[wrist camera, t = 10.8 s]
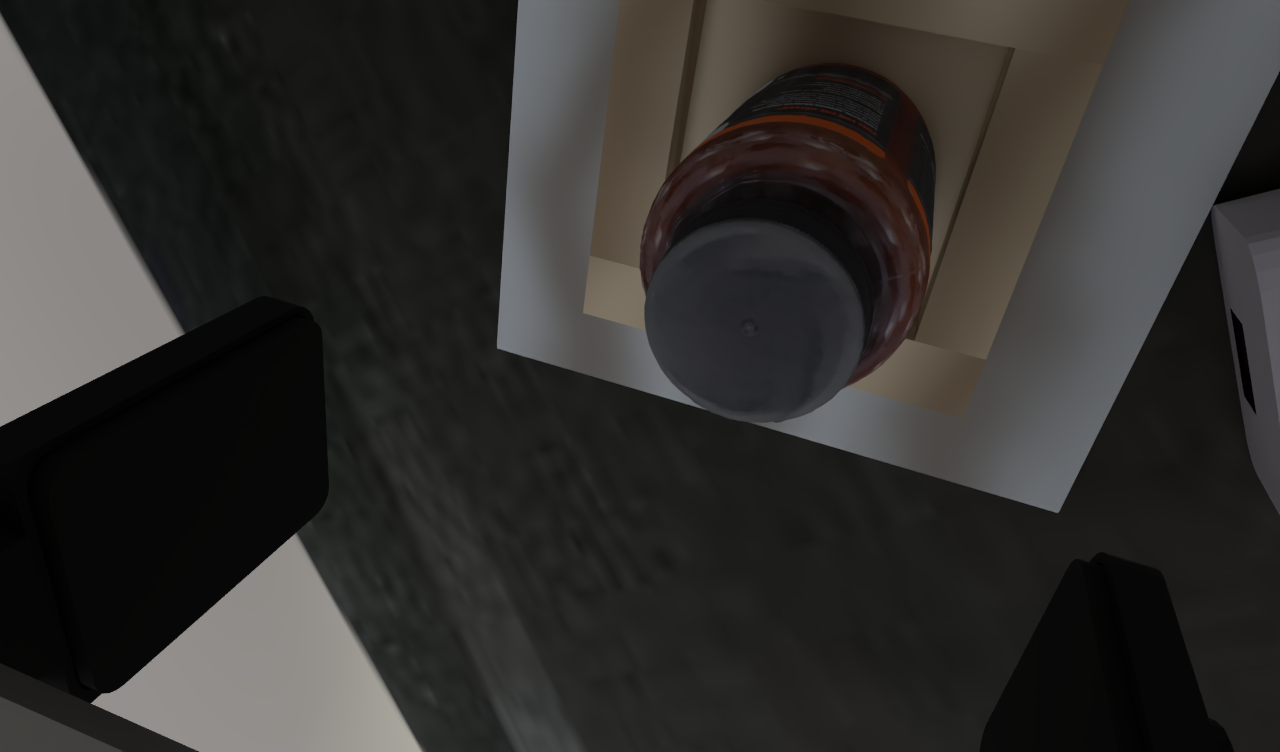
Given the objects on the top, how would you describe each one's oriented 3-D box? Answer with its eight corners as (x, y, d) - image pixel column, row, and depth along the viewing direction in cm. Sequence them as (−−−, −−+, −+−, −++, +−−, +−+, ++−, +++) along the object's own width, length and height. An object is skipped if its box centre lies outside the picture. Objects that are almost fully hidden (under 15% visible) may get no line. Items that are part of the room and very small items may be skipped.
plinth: (1424, -238, 20) (1554, -283, 15) (1056, 503, 31) (1073, 597, 26) (548, -336, 24) (460, -392, 20) (503, 342, 35) (440, 399, 31)
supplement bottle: (699, 96, 25) (541, 205, 15) (910, 27, 22) (880, 105, 13) (757, 286, 27) (649, 486, 17) (956, 241, 24) (960, 447, 15)
